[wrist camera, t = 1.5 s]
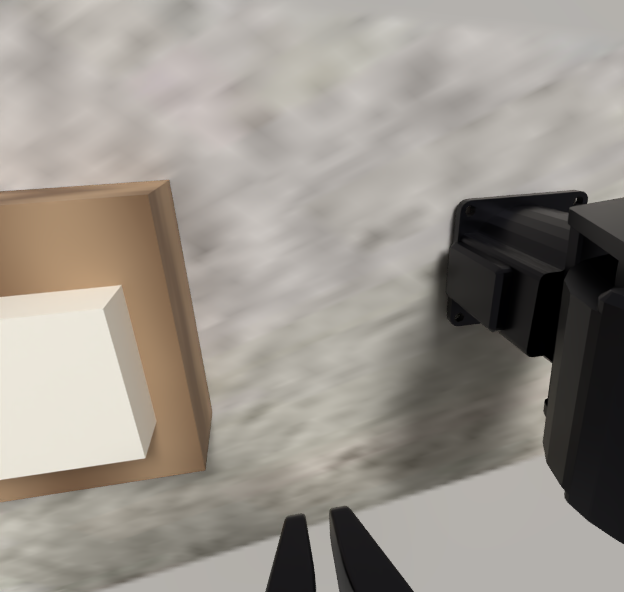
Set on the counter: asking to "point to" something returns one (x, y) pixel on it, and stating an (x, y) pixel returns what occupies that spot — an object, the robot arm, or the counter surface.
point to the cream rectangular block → (70, 383)
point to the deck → (140, 302)
